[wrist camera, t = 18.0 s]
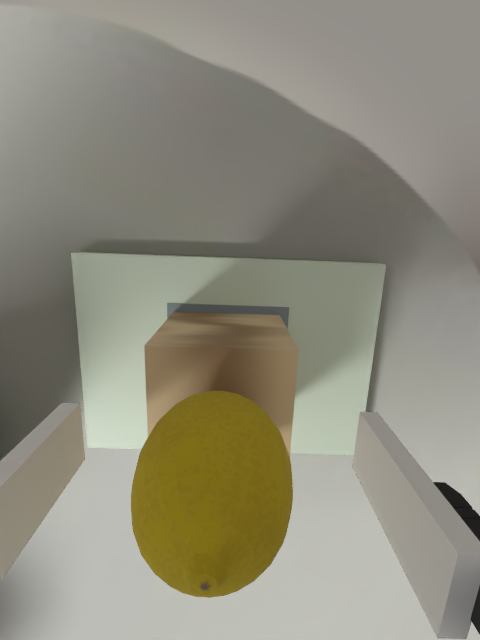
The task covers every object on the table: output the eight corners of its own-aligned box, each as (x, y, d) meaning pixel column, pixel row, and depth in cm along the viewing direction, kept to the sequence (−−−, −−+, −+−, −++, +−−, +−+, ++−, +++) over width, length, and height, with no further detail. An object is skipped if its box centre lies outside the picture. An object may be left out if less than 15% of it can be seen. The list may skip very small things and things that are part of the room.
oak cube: (175, 408, 24) (149, 477, 17) (173, 311, 22) (144, 345, 15) (273, 410, 24) (287, 481, 17) (279, 314, 22) (298, 350, 15)
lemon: (254, 479, 17) (267, 687, 9) (148, 446, 16) (66, 638, 9) (295, 384, 16) (353, 531, 8) (182, 345, 15) (123, 462, 7)
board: (94, 437, 25) (87, 448, 24) (79, 251, 22) (70, 252, 21) (353, 445, 26) (359, 455, 25) (378, 263, 22) (386, 264, 21)
